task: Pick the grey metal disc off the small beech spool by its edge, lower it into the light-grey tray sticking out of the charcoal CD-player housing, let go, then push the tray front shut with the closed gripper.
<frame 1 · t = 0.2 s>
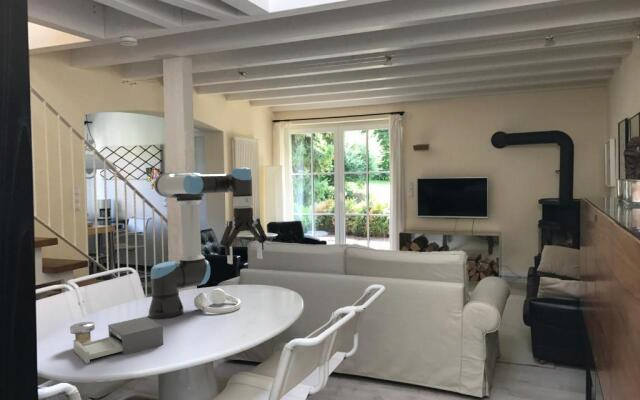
hand: (245, 261, 177), 28 cm above the table, fingers open, 13 cm apart
spool: (83, 346, 168), on the table
housing: (136, 343, 168), on the table
headphones: (220, 309, 214), on the table
tray: (101, 346, 160), point 2 cm above the table, slide at 11.0 cm
disc: (82, 330, 167), point 6 cm above the table, touching spool
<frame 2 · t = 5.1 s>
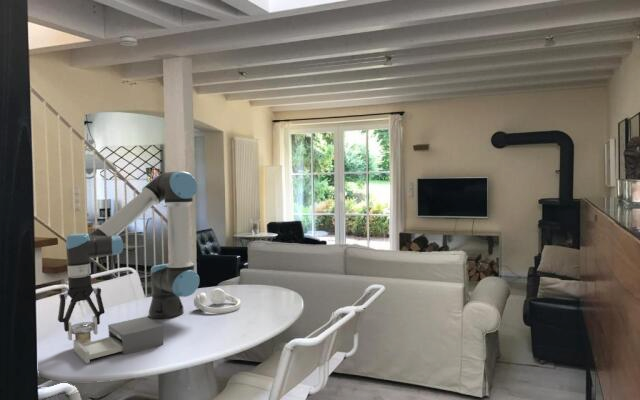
hand: (83, 336, 167), 4 cm above the table, fingers closed on disc, 8 cm apart
disc: (82, 330, 167), point 6 cm above the table, touching gripper, spool
everything else where it was.
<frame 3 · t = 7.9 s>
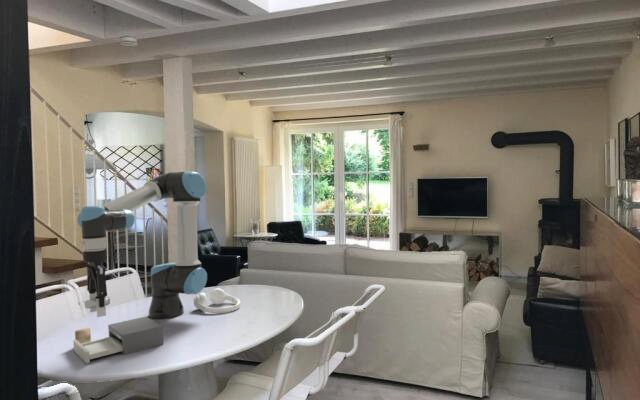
hand: (97, 313, 160), 14 cm above the table, fingers closed on disc, 8 cm apart
disc: (97, 305, 159), point 17 cm above the table, touching gripper
everything else where it was.
when the fingers open (3 cm above the table, at t = 10.2 s): disc drops 4 cm, resting on tray.
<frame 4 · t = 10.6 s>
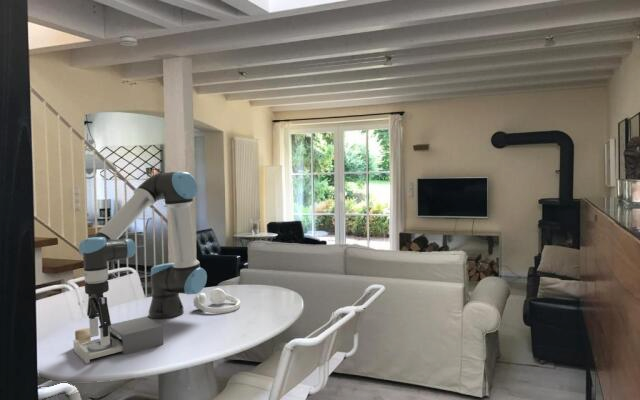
hand: (99, 340, 160), 4 cm above the table, fingers open, 13 cm apart
tray: (101, 346, 160), point 2 cm above the table, slide at 11.0 cm, touching disc
disc: (100, 347, 160), point 2 cm above the table, touching tray
everything else where it was.
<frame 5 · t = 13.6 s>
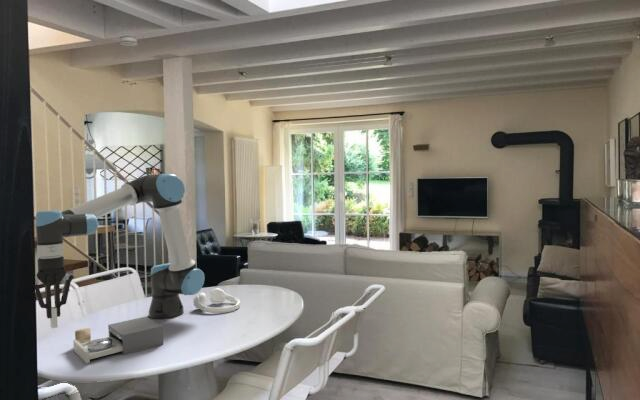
hand: (54, 326, 151), 13 cm above the table, fingers closed
nothing on the table moved.
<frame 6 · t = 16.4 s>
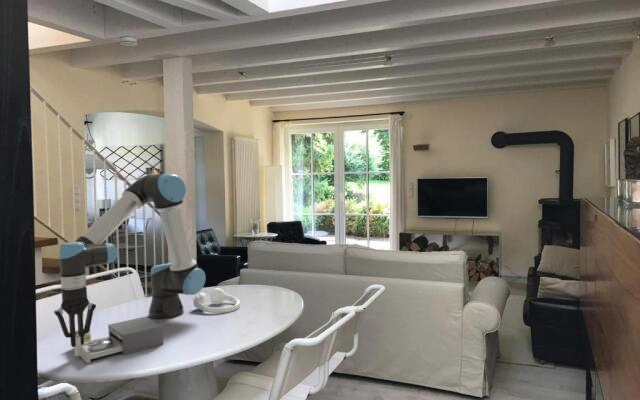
hand: (78, 354, 156), 1 cm above the table, fingers closed
tray: (101, 346, 161), point 2 cm above the table, slide at 10.8 cm, touching disc, gripper
everything else where it was.
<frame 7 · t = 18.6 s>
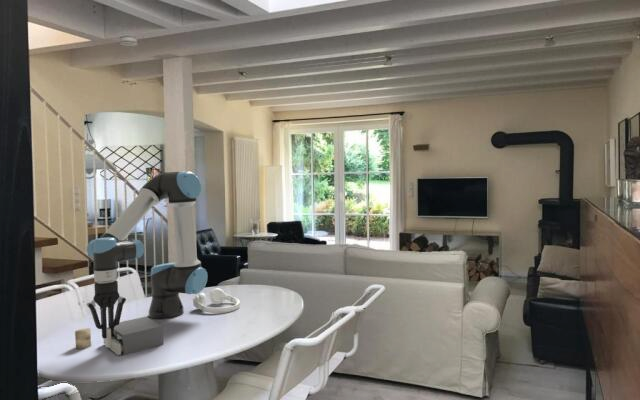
hand: (108, 346, 162), 2 cm above the table, fingers closed
tray: (130, 339, 167), point 2 cm above the table, slide at 1.0 cm, touching disc, gripper
disc: (129, 340, 167), point 2 cm above the table, touching tray
everything else where it was.
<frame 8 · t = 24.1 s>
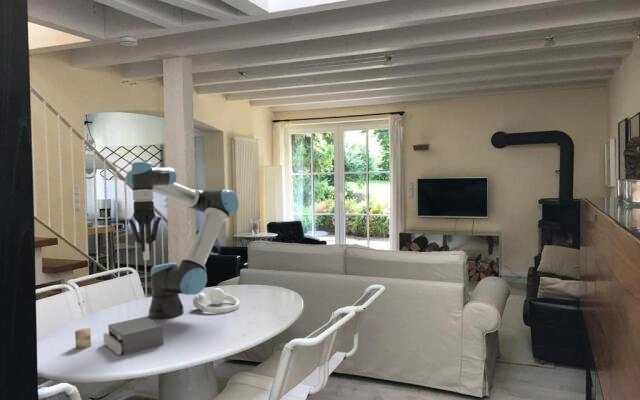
hand: (146, 259, 181), 29 cm above the table, fingers closed
tray: (130, 339, 167), point 2 cm above the table, slide at 0.9 cm, touching disc
everything else where it was.
at the end: tray slide at 0.9 cm; disc inside the target area on the housing (2.3 cm from its centre), point 1.9 cm above the housing's base; disc tilted 0° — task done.
